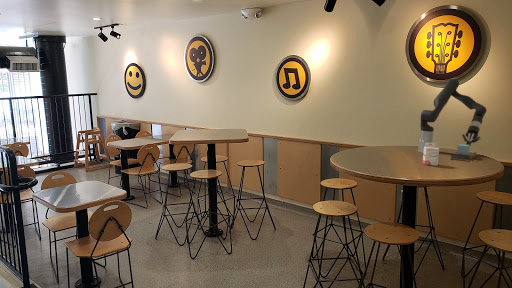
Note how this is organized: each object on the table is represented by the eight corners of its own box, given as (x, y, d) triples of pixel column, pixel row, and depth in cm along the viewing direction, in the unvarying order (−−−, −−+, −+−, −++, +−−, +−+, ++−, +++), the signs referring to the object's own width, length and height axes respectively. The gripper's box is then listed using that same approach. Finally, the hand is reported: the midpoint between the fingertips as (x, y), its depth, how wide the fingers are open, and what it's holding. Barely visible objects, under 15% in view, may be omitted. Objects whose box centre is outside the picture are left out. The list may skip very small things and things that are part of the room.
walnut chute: (459, 155, 295) (459, 149, 294) (476, 157, 287) (477, 151, 286) (450, 159, 278) (450, 153, 277) (468, 161, 270) (469, 155, 269)
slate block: (459, 156, 284) (460, 143, 283) (468, 157, 280) (469, 144, 279) (456, 157, 278) (457, 145, 277) (465, 158, 274) (466, 146, 273)
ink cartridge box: (424, 165, 259) (426, 143, 257) (422, 163, 264) (423, 142, 261) (438, 165, 258) (439, 143, 256) (435, 163, 263) (437, 142, 261)
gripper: (484, 132, 294) (477, 150, 288) (465, 130, 303) (458, 147, 296) (483, 126, 289) (477, 144, 283) (464, 124, 298) (457, 141, 291)
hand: (467, 145), depth 290 cm, fingers closed
